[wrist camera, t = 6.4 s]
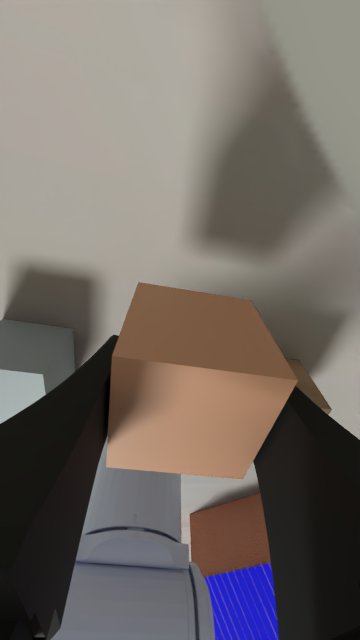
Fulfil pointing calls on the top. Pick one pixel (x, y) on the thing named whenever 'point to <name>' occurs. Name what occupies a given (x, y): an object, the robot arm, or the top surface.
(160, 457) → the terracotta block
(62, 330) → the slate block
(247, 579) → the house
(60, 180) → the top surface
